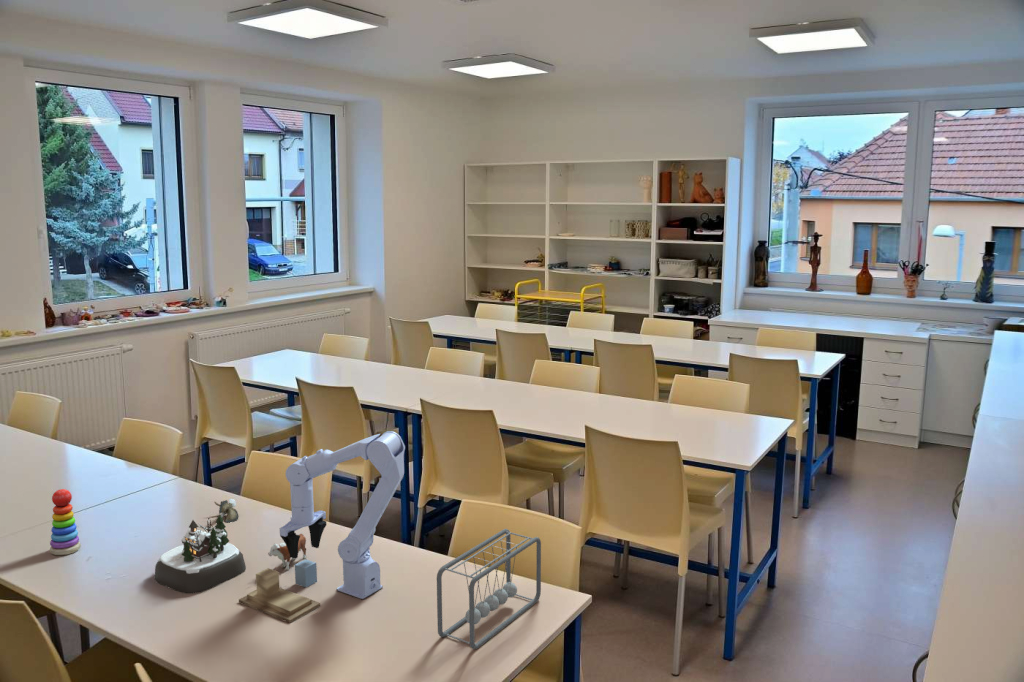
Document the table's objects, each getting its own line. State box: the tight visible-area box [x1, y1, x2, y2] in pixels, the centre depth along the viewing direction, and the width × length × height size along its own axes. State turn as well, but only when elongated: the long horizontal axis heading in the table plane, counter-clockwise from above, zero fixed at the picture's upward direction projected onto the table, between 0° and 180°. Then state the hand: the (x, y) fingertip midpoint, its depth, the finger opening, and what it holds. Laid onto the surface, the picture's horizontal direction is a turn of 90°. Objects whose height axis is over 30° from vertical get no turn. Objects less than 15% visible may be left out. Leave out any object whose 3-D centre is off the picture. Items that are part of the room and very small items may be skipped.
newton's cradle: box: [436, 528, 542, 650], centre depth 199 cm, size 30×10×18 cm, turn 146°
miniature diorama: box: [153, 512, 247, 595], centre depth 223 cm, size 20×20×17 cm
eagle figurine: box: [213, 498, 239, 523], centre depth 263 cm, size 8×7×9 cm
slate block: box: [294, 559, 318, 588], centre depth 218 cm, size 4×4×6 cm
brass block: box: [255, 567, 281, 598], centre depth 209 cm, size 4×4×6 cm
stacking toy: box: [49, 488, 82, 556], centre depth 237 cm, size 8×8×19 cm
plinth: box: [238, 587, 321, 624], centre depth 207 cm, size 19×10×2 cm, turn 57°
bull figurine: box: [267, 533, 307, 572], centre depth 229 cm, size 4×13×8 cm, turn 152°
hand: (304, 552), depth 217 cm, fingers open, 7 cm apart
